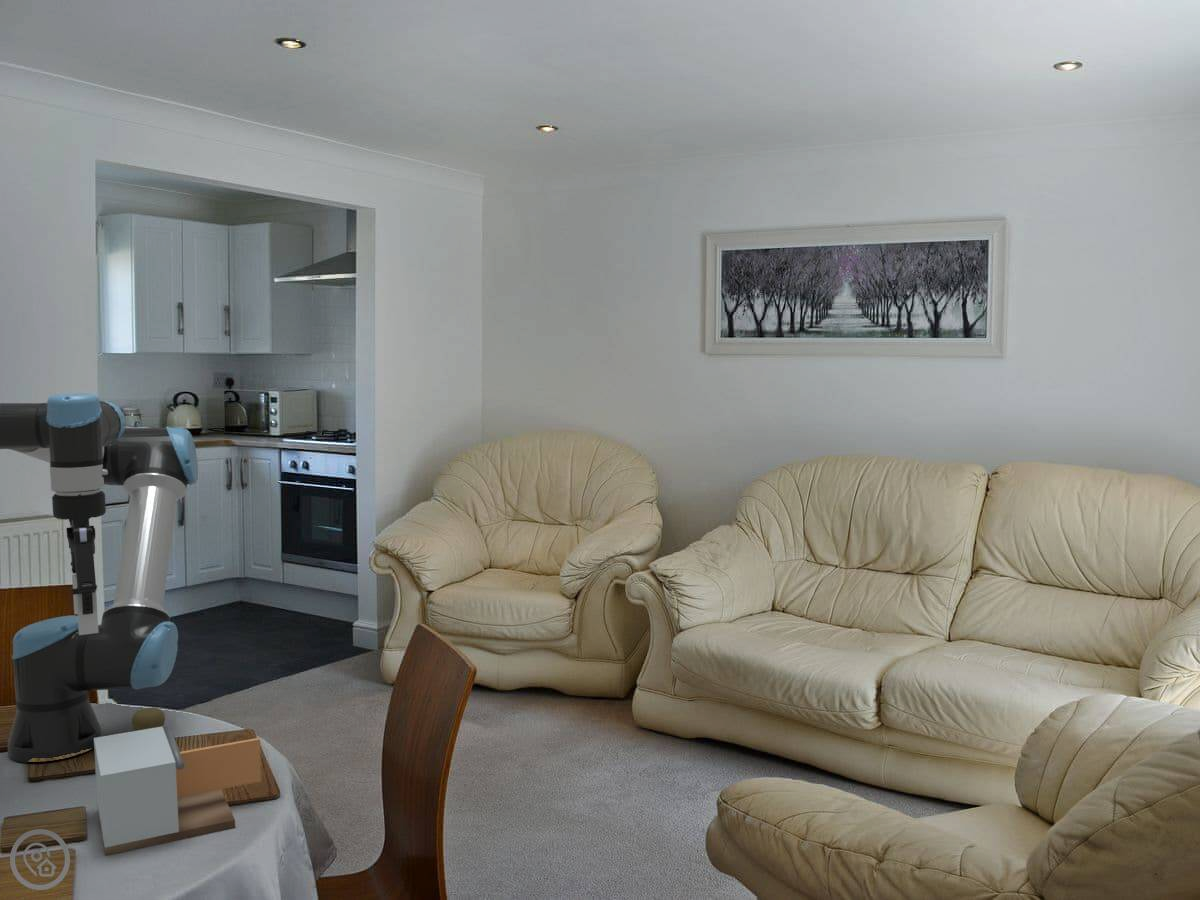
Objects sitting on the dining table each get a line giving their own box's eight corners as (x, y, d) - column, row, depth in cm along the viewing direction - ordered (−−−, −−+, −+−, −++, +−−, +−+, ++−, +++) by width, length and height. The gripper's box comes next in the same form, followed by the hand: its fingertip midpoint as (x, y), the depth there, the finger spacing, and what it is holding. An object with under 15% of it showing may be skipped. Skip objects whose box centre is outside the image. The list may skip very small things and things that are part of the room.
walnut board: (97, 811, 166) (97, 804, 165) (217, 787, 174) (217, 780, 174) (105, 855, 152) (104, 847, 152) (235, 827, 160) (234, 819, 160)
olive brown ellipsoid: (156, 780, 177) (153, 717, 176) (124, 777, 178) (120, 715, 177) (177, 766, 183) (174, 705, 181) (146, 763, 184) (143, 702, 183)
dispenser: (97, 804, 165) (93, 738, 164) (173, 789, 171) (170, 725, 170) (104, 847, 152) (100, 775, 150) (187, 830, 157) (184, 760, 156)
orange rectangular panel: (153, 800, 162) (151, 756, 161) (260, 779, 170) (258, 737, 169) (154, 802, 161) (152, 758, 161) (261, 781, 169) (259, 739, 168)
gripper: (111, 501, 157) (118, 639, 159) (99, 480, 179) (105, 602, 181) (54, 505, 153) (63, 646, 156) (49, 483, 175) (56, 607, 177)
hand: (86, 623), depth 168 cm, fingers open, 13 cm apart
